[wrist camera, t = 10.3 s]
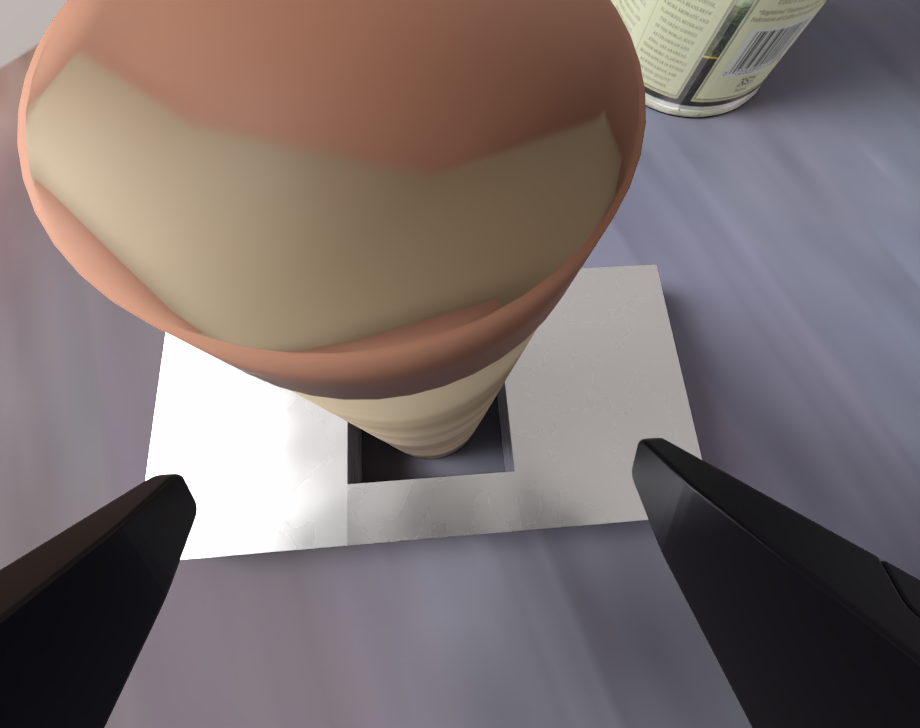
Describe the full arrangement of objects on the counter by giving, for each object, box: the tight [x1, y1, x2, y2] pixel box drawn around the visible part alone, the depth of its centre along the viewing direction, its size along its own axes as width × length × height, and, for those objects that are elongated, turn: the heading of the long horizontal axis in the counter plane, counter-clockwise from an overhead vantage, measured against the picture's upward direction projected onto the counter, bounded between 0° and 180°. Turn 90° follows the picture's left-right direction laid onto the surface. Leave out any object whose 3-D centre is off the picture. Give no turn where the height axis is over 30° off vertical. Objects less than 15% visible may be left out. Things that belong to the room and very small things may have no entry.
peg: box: [17, 0, 646, 459], centre depth 10 cm, size 4×4×15 cm
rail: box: [145, 265, 702, 560], centre depth 16 cm, size 10×20×2 cm, turn 94°
